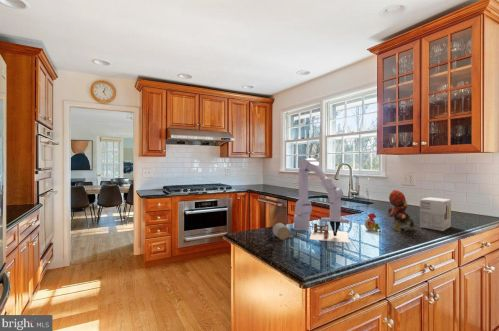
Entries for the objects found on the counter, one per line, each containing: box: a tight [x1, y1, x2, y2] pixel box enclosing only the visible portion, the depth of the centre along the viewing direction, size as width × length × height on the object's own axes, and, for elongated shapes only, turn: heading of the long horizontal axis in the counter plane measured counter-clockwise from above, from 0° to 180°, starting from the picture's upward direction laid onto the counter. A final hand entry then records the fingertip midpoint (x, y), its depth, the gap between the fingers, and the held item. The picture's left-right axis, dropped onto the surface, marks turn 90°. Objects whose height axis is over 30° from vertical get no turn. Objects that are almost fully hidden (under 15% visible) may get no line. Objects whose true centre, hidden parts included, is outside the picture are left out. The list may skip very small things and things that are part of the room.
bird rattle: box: [364, 212, 382, 232], centre depth 163 cm, size 6×11×9 cm
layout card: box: [309, 228, 350, 243], centre depth 151 cm, size 20×22×1 cm
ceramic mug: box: [272, 222, 295, 241], centre depth 147 cm, size 11×8×8 cm
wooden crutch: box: [324, 226, 329, 238], centre depth 149 cm, size 11×2×4 cm, turn 162°
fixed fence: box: [313, 223, 329, 232], centre depth 157 cm, size 8×2×5 cm, turn 72°
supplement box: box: [419, 196, 452, 232], centre depth 172 cm, size 17×13×18 cm
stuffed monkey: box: [387, 189, 421, 233], centre depth 167 cm, size 15×17×25 cm
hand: (335, 235), depth 146 cm, fingers closed
